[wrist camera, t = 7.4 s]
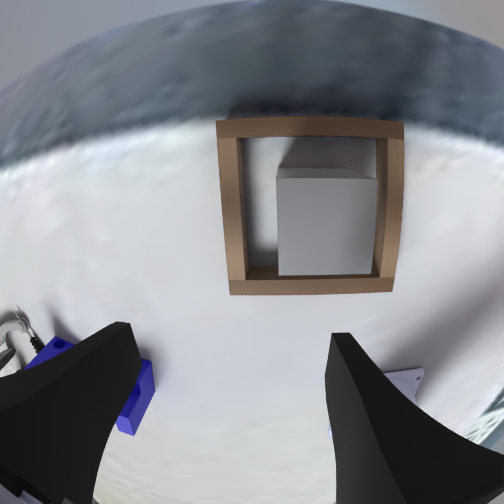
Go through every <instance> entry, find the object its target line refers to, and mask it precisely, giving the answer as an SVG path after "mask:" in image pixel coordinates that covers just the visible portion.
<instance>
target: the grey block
mask: <svg viewBox="0 0 504 504" xmlns="http://www.w3.org/2000/svg"><path fill="white" fill-rule="evenodd" d="M377 183H378V180H377V179H375V178H372V177H369V176H366V175H364V174H361V173H358V172H355V171H353V170H350V169H347V168H278V171H277V176H276V190H277V221H278V265H279V275H339V274H371V268H372V259H373V249H374V238H375V225H376V209H377Z"/></svg>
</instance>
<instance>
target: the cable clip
mask: <svg viewBox="0 0 504 504" xmlns="http://www.w3.org/2000/svg"><path fill="white" fill-rule="evenodd" d="M73 346H74V344H72V343H69V342H67V341H65V340H62V339H60V338H58V337H56V336H55V337H54V338H53V339H52V340H51V341H50V342H49V343H48V344H47V345H46V346H45V347H44V348H43V349H42V350H41V351H40V352H39V353H38V354H37V356H36V357H35V358H34V359H33V360H32V361H31V362H30V363H29V364H28V365H27V366H26V367H25V370H26V369H28V368H31V367H33V366H35V365H38V364H40V363H42V362H44V361H47V360H49V359H51V358H53V357H54V356H56V355H58V354H60V353H62V352H64V351H65V350H67V349H69V348H71V347H73ZM141 360H142V363H143V365H142V368H141V371H140V374H139V376H138V379H137V382H136V384H135V386H134V388H133V390H132V392H131V394H130V396H129V398H128V400H127V402H126V404H125V405H124V407H123V409H122V411H121V413H120V415H119V417H118V419H117V421H116V424H117V427H118V430H119V431H121V432H124V433H127V434H129V435H132V436H134V435H135V433H136V431H137V429H138V426H139V424H140V422H141V420H142V418H143V416H144V414H145V412H146V409H147V407H148V405H149V403H150V401H151V399H152V397H153V395H154V393H155V390H154V382H153V374H152V365H151V361H148V360H145V359H141Z"/></svg>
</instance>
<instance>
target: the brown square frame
mask: <svg viewBox="0 0 504 504" xmlns="http://www.w3.org/2000/svg"><path fill="white" fill-rule="evenodd" d="M216 132H217V148H218V162H219V176H220V190H221V203H222V215H223V227H224V238H225V249H226V260H227V271H228V281H229V291H230V295H322V294H353V293H376V292H392V290H393V284H394V278H395V272H396V265H397V257H398V250H399V241H400V232H401V221H402V208H403V190H404V123H403V122H397V121H388V120H378V119H366V118H351V117H329V116H279V117H256V118H241V119H229V120H218V121H216ZM263 137H351V138H369V139H376V160H377V167H376V179H377V180H378V183H377V209H376V225H375V238H374V249H373V259H372V268H371V274H339V275H279V266H249V256H248V240H247V224H246V208H245V191H244V175H243V158H242V141H241V139H245V138H263Z"/></svg>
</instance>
